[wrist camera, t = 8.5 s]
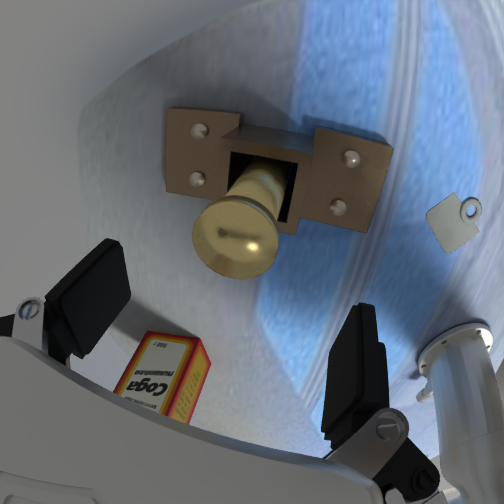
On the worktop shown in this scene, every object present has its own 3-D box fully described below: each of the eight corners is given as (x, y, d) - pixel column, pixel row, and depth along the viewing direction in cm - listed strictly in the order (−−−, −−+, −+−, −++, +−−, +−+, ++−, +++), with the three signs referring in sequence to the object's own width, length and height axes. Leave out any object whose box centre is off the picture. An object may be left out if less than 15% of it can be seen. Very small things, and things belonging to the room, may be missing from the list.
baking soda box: (200, 338, 40) (159, 435, 27) (211, 363, 43) (178, 451, 30) (147, 330, 42) (101, 413, 29) (161, 355, 45) (124, 432, 33)
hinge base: (364, 226, 25) (374, 265, 20) (171, 187, 27) (140, 214, 22) (390, 145, 20) (411, 166, 15) (173, 106, 22) (136, 117, 17)
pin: (292, 188, 24) (269, 287, 14) (247, 180, 25) (192, 268, 14) (300, 145, 22) (284, 215, 12) (253, 137, 22) (192, 196, 12)
